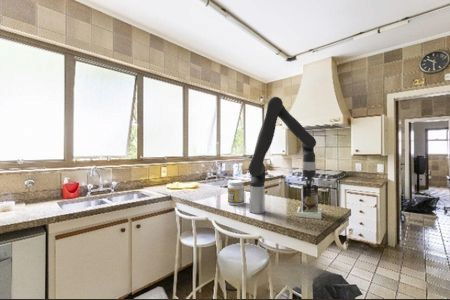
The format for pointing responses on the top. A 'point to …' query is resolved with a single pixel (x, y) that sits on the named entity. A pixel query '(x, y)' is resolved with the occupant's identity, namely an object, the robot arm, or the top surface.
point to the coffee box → (309, 199)
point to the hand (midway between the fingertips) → (309, 195)
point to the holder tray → (309, 214)
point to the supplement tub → (236, 192)
